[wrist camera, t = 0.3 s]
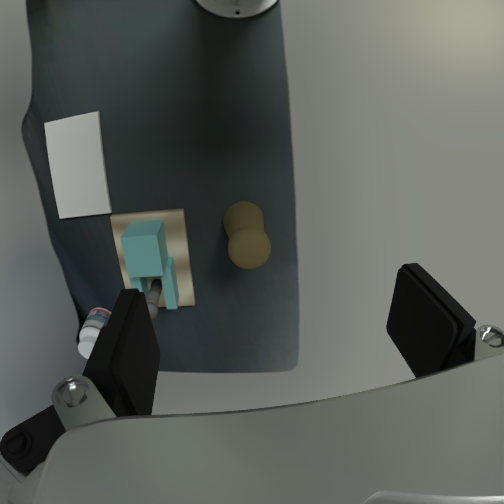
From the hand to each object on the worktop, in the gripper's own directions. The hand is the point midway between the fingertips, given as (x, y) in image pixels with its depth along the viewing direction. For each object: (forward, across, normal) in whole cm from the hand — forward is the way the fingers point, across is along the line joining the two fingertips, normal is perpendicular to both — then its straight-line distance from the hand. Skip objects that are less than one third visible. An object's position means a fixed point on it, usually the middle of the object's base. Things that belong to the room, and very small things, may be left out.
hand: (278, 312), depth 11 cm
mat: (+36, +23, -1) cm, 42 cm away
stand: (+36, +13, +15) cm, 41 cm away
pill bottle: (+36, +25, +26) cm, 51 cm away
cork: (+36, -1, +10) cm, 37 cm away
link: (+35, +13, +15) cm, 40 cm away
